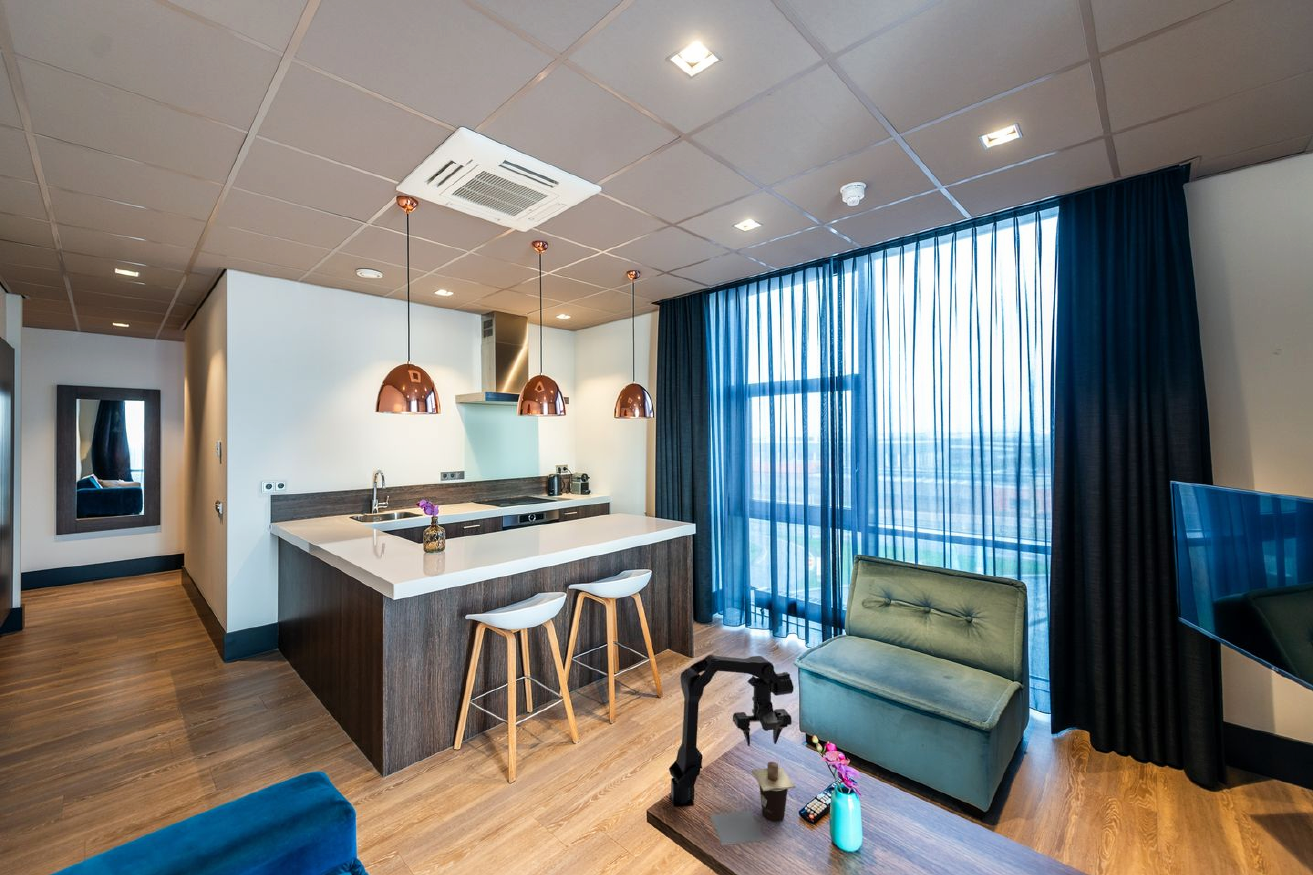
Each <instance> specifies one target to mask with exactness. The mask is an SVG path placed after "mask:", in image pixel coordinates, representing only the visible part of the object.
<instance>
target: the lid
mask: <svg viewBox="0 0 1313 875" xmlns="http://www.w3.org/2000/svg"><path fill="white" fill-rule="evenodd" d="M750 772H751V773H752V775H753V776H754V778H755V780H756V782H757V783H759V784H758V786H759V785H760V786H759V788H760V787H761V788H762V790H763V791H769V790H779V789H796V785H795V784H794V783H793V781H792V780H791V778H790V777H789V776H788V774H787V773H786V771H785V769H783V767H781V766H780V767H779V764H778V763H777V762H775V761H768V762H767V768H760V769H759V768H758V769H751V770H750Z"/></svg>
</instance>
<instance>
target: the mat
mask: <svg viewBox="0 0 1313 875" xmlns="http://www.w3.org/2000/svg"><path fill="white" fill-rule="evenodd" d="M709 818H710V820H711V822H712V824H713V827H714V829H715V832H716V834H717V837H718V839H719V841H720V843H721V845H722V847H723V846H730V845H731V846H733V845H741V844H747V843H756V842H757V843H758V842H763V841H767V838H766V836H765V835H764V833H763V831H762V829H761V827H760V825H759V824H758V821H757V820H756V818H755V816H754V815H753V813H752V811H751V810H744V811H735V812H725V813H717V814H709Z"/></svg>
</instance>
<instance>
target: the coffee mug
mask: <svg viewBox="0 0 1313 875" xmlns="http://www.w3.org/2000/svg"><path fill="white" fill-rule="evenodd" d="M757 783H758V782H757ZM758 787H759V791H760V792H759V794H760V801H761V802H760V803H761V812H762V816H763V818H764V819H766V820H767V821H769V822H772V823H779V822H782V821H784V819H785V812H786V805H787V798H788V789H779V790H769V791H763V790H762V788H761V787H760V785H759V783H758Z"/></svg>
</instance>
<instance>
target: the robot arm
mask: <svg viewBox="0 0 1313 875" xmlns="http://www.w3.org/2000/svg"><path fill="white" fill-rule="evenodd" d="M702 672H703V673H702ZM717 672H727V673H737V674H738V673H739V674H747V675H751V678H749V679H748V680H747V683H748V684H750V685H751V686H752V687H753V696H752V698H751V699H752V702H753V707H752V709H751V712H752V715H747V713H746V712H745V711H742V712H741V711H739V712H734V713H733V715H732V722H733V723H734V725H735V726H736V728H737V729H740V730H741V731H742V733H743V736H744V738H745V742H746V745H747V747H751V738H750V737H751V736H750V735H751V734H750V731H751V728H750V725H751V724H750V723H760V725H761V727H762V730H764V731H765V732H768V731H772V738H773V745H776V744H777V742H778V741H779V737H780V735H781V732H782V730H783V729H786V728H787V727H788V726H790V725H792V724H793V721H792V715H791V714H790V713H789V712H788V711H787V710H786V709H785V708H778V709H774V707H773V706H774V705H773V702H772V695H774V696H777V697H778V696H782V695H783V696H784V695H785V696H786V695H791V694H793V693H794V690H795V688H794V685H793V684H794V683H793V680H792V678H791V674H790V673H789V672H788V671H785V672H784V671H783V672H781V673H776V671H775V667H774V664H773V663H772V662H771V661H769V660H768V659H767V658H765V657H764V656H762V655H753V656H749V657H748V658H746V657H745V658H742V657H741V658H740V657H739V658H738V657H728V656H719V655H718V656H717V655H713V654H708V655H707V656H706V657H704V658H703V659H701V660H699V661H697V662H695V663H693V664H692V665H690V667H689V666H688V668H686V669H684V670H683V672H681V674H680V686H681V691H682V695H683V699H684V700H683V717H682V718H683V719H682V737H681V738H682V740H681V744H680V747H679V748H678V750H677V755H676V759H675V761H673V763H672V764H671V765H670V766H669V767H668V770H669V774H670V775H671V779H670V782H671V784H670V785H671V786H670V787H671V788H670V793H669V797H670V800H671V804H672V806H673V808H683V807H692V806H695V802H694V800H695V786H696V785H695V784H696V780H697V778H698V777H699V776H700V774H701V770H702V769H703V764H702V762H703V757H704V756H703V754H702V753H701V751H700V750H699V748H698V747H697V742H698V741H697V740H698V728H699V727H698V725H699V724H698V722H699V704H700V700H701V699H702V697H703V695H704V691H705V687H706V686H707V685H708V684H710V683H711V681H712V679H713V677H714V676H715V674H716V673H717ZM670 794H671V795H670Z"/></svg>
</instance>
